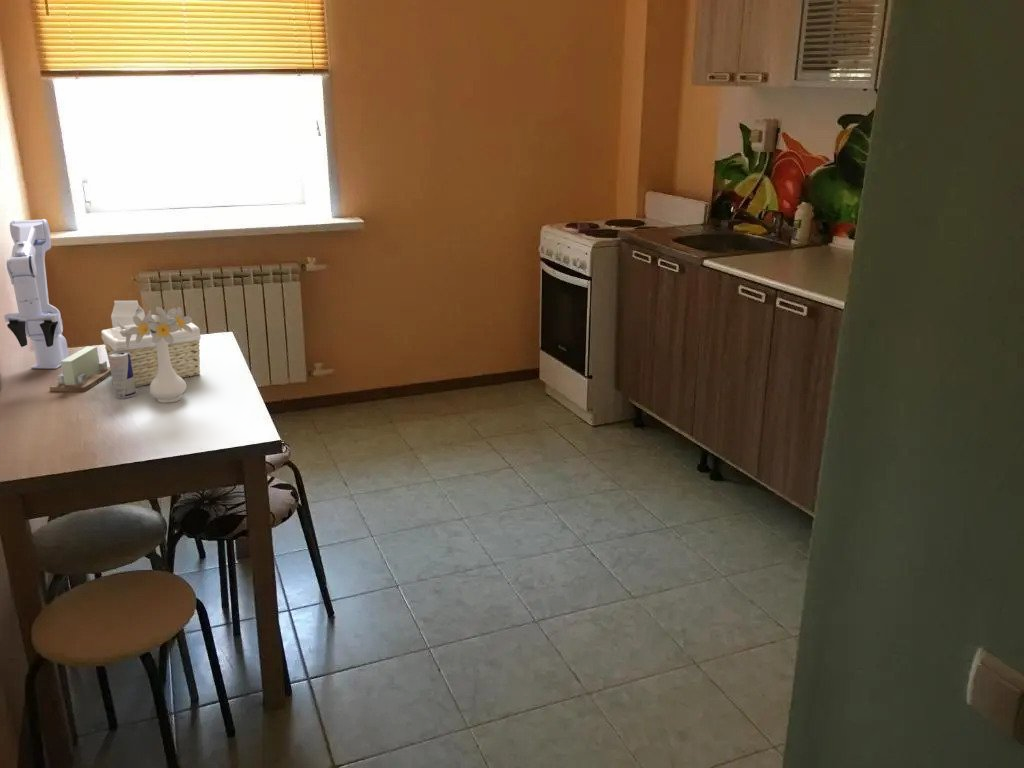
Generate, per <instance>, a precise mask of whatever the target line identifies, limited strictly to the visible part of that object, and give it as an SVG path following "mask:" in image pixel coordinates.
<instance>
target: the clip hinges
mask: <svg viewBox="0 0 1024 768" xmlns="http://www.w3.org/2000/svg"><path fill="white" fill-rule="evenodd" d="M98 365H99V371H100V372H104V371H106V370H107V369H108V368H107V367H108V364H107V361H106V360H102V361H99V363H98ZM56 378H57V382H58V384H59V385H63V384H65V382H64V377H63V373H60V374H59V375H57V376H56ZM77 378H78V383H79V385H84V384H85V383H87V377H86V374H81V375H79V376H77Z"/></svg>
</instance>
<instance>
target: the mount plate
mask: <svg viewBox="0 0 1024 768" xmlns="http://www.w3.org/2000/svg"><path fill="white" fill-rule="evenodd" d="M107 368H108V369H107V370H106V371H104V372H100V371H97V372H96V373H94V374H93V375H91V376H89V377H88V378H87V383H85V384H84V385H79V383H78V384H77V385H65V384H63V385H59V384H58V381H57V382H55V383H54V384H52V385H51V386H49V391H50V392H83V391H85V392H87V391H88V390H90V389H91V388H93V387H94V386H96V385H97V384H99V383H100V382H99V381H101V380H102V381H103V379H104V378H105V379H107V378H108V377H109V375H110V374H111V370H110V366H107ZM107 376H108V377H107ZM110 376H111V375H110ZM106 377H107V378H106ZM105 379H104V380H105ZM102 381H101V382H102ZM98 382H99V383H98ZM96 383H97V384H96ZM95 384H96V385H95ZM92 386H93V387H92ZM90 387H91V388H90ZM89 388H90V389H89ZM86 390H87V391H86Z"/></svg>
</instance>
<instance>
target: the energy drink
mask: <svg viewBox="0 0 1024 768" xmlns="http://www.w3.org/2000/svg"><path fill="white" fill-rule="evenodd" d="M108 364H109V367H110V370H111V375H110V376H111V382H112V387H113V393H114V397H115V398H116V399H120V400H126V399H130V398H133V397H135V396H136V394H137V391H136V389H137V388H136V387H135V383H134V377H133V371H132V365H131V358H130V355H129V352H126V351H120V352H114V353H111V354H109V360H108Z"/></svg>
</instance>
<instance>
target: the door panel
mask: <svg viewBox="0 0 1024 768" xmlns="http://www.w3.org/2000/svg"><path fill="white" fill-rule="evenodd" d="M98 363H100V359H99V352H98V347H97V346H85V347H84V348H82V349H80V350H78V351H76V352H74V353H73V354H71V355H69V357H67V358H66V359H64V360H62V361H61V366H60V367H61V371H62V374H63V377H64V382H65V385H77V384H78V378H77V376H79V375H81V374H86V377H87V378H88V377H89V376H91V375H93V374H94V373H96V372H97V371H99V365H98Z"/></svg>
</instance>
